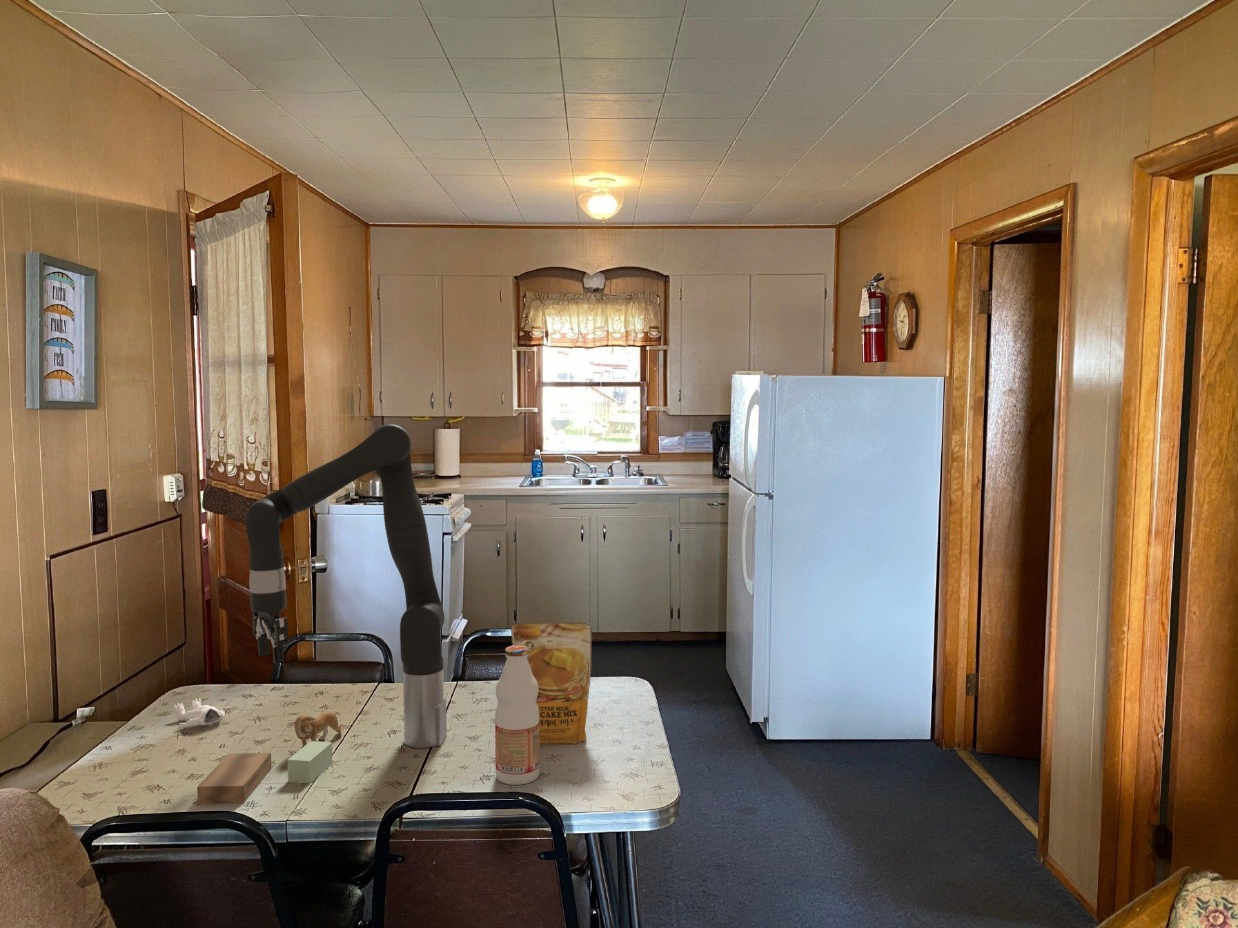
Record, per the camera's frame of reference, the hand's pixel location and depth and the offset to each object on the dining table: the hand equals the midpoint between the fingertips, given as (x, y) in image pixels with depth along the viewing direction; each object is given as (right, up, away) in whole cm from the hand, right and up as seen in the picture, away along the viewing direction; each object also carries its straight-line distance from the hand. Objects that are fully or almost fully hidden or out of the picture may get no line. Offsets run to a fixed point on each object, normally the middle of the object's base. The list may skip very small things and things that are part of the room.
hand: (271, 658), depth 194 cm
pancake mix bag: (+62, -22, +10) cm, 67 cm away
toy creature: (-26, -21, +21) cm, 39 cm away
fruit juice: (+57, -23, -10) cm, 62 cm away
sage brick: (+12, -23, -8) cm, 27 cm away
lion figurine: (+8, -22, +7) cm, 24 cm away
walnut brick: (-2, -24, -14) cm, 28 cm away
